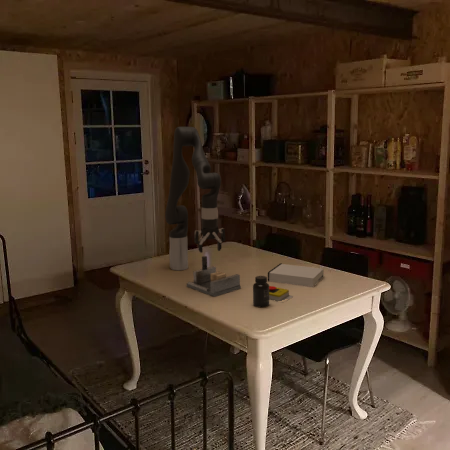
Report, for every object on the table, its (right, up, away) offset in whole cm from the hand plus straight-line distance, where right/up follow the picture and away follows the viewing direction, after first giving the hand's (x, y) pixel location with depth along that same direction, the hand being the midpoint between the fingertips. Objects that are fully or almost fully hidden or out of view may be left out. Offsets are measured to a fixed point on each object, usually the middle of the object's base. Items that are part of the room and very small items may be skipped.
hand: (210, 251), depth 234 cm
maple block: (+4, -16, 0) cm, 16 cm away
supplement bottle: (+22, -22, -20) cm, 37 cm away
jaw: (-3, -15, +7) cm, 16 cm away
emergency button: (+28, -20, -10) cm, 36 cm away
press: (+1, -17, +3) cm, 17 cm away
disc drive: (+41, -15, +13) cm, 46 cm away
